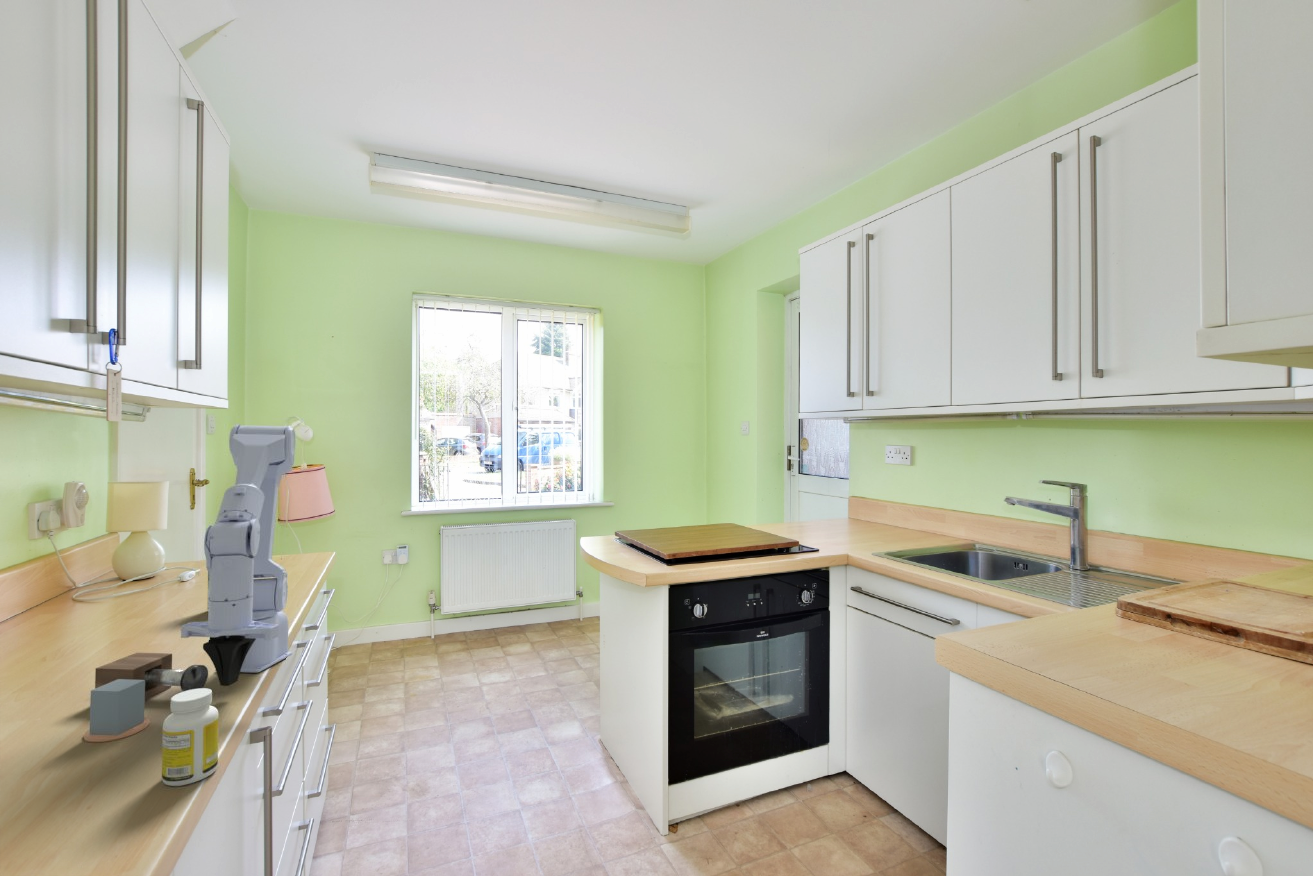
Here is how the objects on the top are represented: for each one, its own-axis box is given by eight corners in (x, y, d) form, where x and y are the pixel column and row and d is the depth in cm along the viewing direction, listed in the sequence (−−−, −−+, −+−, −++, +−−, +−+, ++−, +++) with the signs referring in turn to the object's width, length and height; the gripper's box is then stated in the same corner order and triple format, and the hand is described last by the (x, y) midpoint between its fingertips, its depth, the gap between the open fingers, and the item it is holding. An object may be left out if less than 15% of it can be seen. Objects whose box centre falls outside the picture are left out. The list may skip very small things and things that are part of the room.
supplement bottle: (210, 758, 76) (212, 682, 76) (223, 773, 73) (225, 693, 73) (156, 776, 72) (158, 695, 72) (167, 793, 69) (169, 708, 69)
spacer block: (117, 721, 85) (118, 679, 85) (143, 722, 85) (145, 680, 85) (89, 734, 81) (90, 690, 81) (117, 735, 81) (118, 691, 81)
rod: (157, 684, 96) (158, 659, 96) (207, 686, 96) (208, 661, 96) (135, 694, 92) (135, 669, 92) (187, 696, 92) (188, 670, 92)
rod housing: (136, 685, 98) (137, 652, 98) (171, 687, 98) (172, 653, 98) (94, 704, 91) (95, 668, 91) (132, 705, 91) (133, 669, 91)
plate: (117, 718, 87) (117, 716, 87) (161, 719, 86) (162, 717, 86) (69, 741, 80) (69, 739, 80) (117, 743, 80) (117, 741, 80)
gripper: (165, 602, 90) (162, 692, 90) (257, 605, 90) (255, 695, 90) (202, 591, 97) (200, 674, 97) (288, 593, 97) (286, 677, 97)
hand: (229, 683), depth 94 cm, fingers closed
